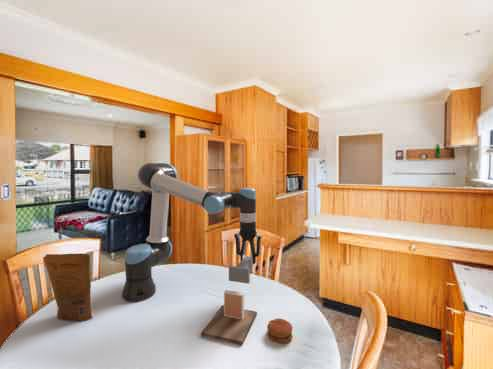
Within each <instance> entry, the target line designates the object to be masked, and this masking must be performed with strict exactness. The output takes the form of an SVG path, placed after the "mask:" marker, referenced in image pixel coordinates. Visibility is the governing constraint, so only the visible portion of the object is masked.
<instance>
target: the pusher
mask: <svg viewBox="0 0 493 369" xmlns="http://www.w3.org/2000/svg"><path fill="white" fill-rule="evenodd" d="M251 257H252V255H246V257H245V258H244V259H243V260H242V261H241V262H239V263H238V264H237V265H236V266H233V265H229V267H228V281H229V282H235V283H243V284H250V283H251V282H250V281H251V278H250V277H251V272H252V271H251Z"/></svg>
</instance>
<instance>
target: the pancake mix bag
mask: <svg viewBox="0 0 493 369" xmlns="http://www.w3.org/2000/svg"><path fill="white" fill-rule="evenodd" d="M42 259H43V264H44V266H45V268H46V272H47V275H48V279H49V281H50V285H51V289H52V292H53V296H54V300H55V304H56V307H57V313H56V316H57V318H56V319H57V320H60V321H70V322H79V323H81V322H86V321H89V320H91V319H93V316H92V308H91V299H92V298H91V288H92V286H91V285H92V283H91V255H90V254H88V253H61V254H60V253H59V254H58V253H57V254H54V253H53V254H51V253H50V254H49V253H47V254H45V255H44V256H43V258H42Z"/></svg>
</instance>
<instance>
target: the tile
mask: <svg viewBox="0 0 493 369" xmlns="http://www.w3.org/2000/svg"><path fill="white" fill-rule="evenodd" d="M223 305H224V316H228V317H233V318H238V319H243V318H244V309H245V292H241V291H240V292H239V291H235V290H228V289H225V290H224V291H223Z"/></svg>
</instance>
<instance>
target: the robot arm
mask: <svg viewBox="0 0 493 369" xmlns="http://www.w3.org/2000/svg"><path fill="white" fill-rule="evenodd" d="M178 178H179V175H178V171H177V169H176V168H175V166H173V165H172V164H170V163H165V162H164V163H163V162H151V163H150V162H148V163H145V164H144V165H142V166H141V167H140V168H139V169H138V173H137V179H138V181H139V182H140V184H141V185H143V186H144V187H146V188H148V189H149V190H150V191H151V192H152V195H151V206H150V208H151V209H150V224H149V235H148V236H147V237H146V238H145V243H139V244H134V245H132V246H130V247H129V248H127V250H126V251H125V254H124V263H125V264H124V267H125V282H124V286H123V290H122V292H121V294H122V300H124V301H126V302H132V303H133V302H140V301H142V302H143V301H144V300H147V299H149V298H151V297H153V296H154V295H155V294H156V291H157V290H156V288H157V287H156V284H155V282H154V279H153V276H152V274H153V273H152V268H154V267H155V266H157V265H159V264H160V263H163V262H165V261H166V260H167V259H169V258H170V256H172V252H173V245H172V243H171V241H170V238H169V237H168V236H167V228H168V216H169V203H170V202H169V201H170V195H172V196H174V197H177V198H178V199H181V200H184V201H186V202H189V203H190V204H191V203H192V204H193V205H196V206H198V207H201V208H203V209H204V210H205V212H207V213H209V214H212V215H214V214H219V213H221V212H223V211H225V210H227V209H239V221H240V222H239V232H236V233H234V235H233V237H234V239H235V251H236V255H238V256H239V257H240V262H241V261H242V260H243V259H244V258H245V257H246V256H247V255H246V254H245V250H246V245H247V244H246V243H247V241H248V242H249V246H250V253H251V272H254V270H255V264H256V262H257V258H258V257H260V255H261V240H262V238H263V235H262V234H258V232H257V222H256V220H257V194H256V192H257V191H256V190H255V188H252V187H245V188H243V187H242V188H240V189H239V192H237V191H236V192H235V191H234V192H233V191H218V192H216V193H215V192H213V191H209V190H207V189H204V188H201V187H199V186H196V185H194V184H192V183H189V182H186V181H184V180H181V179H178ZM240 237H241V240H240ZM255 238H256V246H255ZM240 262H239V263H240Z"/></svg>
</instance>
